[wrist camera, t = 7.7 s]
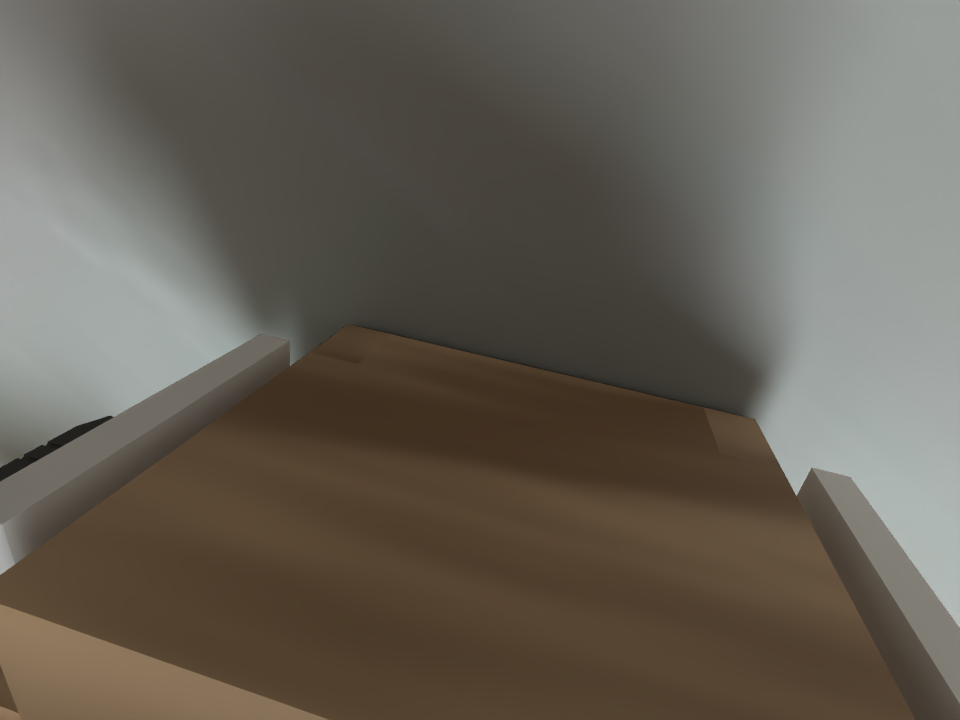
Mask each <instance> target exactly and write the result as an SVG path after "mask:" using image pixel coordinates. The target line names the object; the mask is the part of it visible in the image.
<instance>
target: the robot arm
mask: <svg viewBox="0 0 960 720" xmlns="http://www.w3.org/2000/svg"><path fill="white" fill-rule="evenodd" d="M288 367H290V341H288V340H284V339H280V338H276V337H272V336H268V335H264V334H260V335H258V336H257V337H255V338H253V339H251V340H250V341H248V342H246V343H244V344H242V345H241V346H239V347H237V348H235V349H234V350H232V351H230V352H228V353H227V354H225V355H223V356H221V357H219V358H218V359H216V360H214V361H212V362H211V363H209V364H207V365H205V366H204V367H202V368H200V369H198V370H197V371H195V372H193V373H191V374H189V375H188V376H186V377H184V378H182V379H181V380H179V381H177V382H175V383H174V384H172V385H170V386H168V387H166V388H165V389H163V390H161V391H159V392H158V393H156V394H154V395H152V396H151V397H149V398H147V399H145V400H144V401H142V402H140V403H138V404H136V405H135V406H133V407H131V408H129V409H128V410H126V411H124V412H122V413H121V414H119V415H117V416H115V417H112V416H107V417H104V418H101V419H98V420H95V421H92V422H88V423H85V424H82V425H79V426H76V427H74V428H72V429H71V430H69V431H67V432H65V433H63V434H61V435H60V436H58V437H56V438H54V439H52V440H50V441H48V444H47V445H46V446H44V445H41V446H39V447H37V448H36V449H34V450H32V451H30V452H28V453H26V454H25V455H24V457H23V458H22V459H18V458H17V459H15V460H13V461H12V462H10V463H8V464H6V465H4V466H2V467H1V468H0V575H1V574H2V573H4V572H5V571H6V570H8V569H9V568H11V567H12V566H13V565H15V564H16V563H18V562H19V561H20V560H22V559H23V558H24V557H26V556H27V555H29V554H30V553H31V552H33V551H34V550H36V549H37V548H38V547H40V546H41V545H43V544H44V543H45V542H47V541H48V540H49V539H51V538H52V537H54V536H55V535H56V534H58V533H59V532H61V531H62V530H63V529H65V528H66V527H68V526H69V525H70V524H72V523H73V522H74V521H76V520H77V519H79V518H80V517H81V516H83V515H84V514H86V513H87V512H88V511H90V510H91V509H93V508H94V507H95V506H97V505H98V504H99V503H101V502H102V501H104V500H105V499H106V498H108V497H109V496H111V495H112V494H113V493H115V492H116V491H118V490H119V489H120V488H122V487H123V486H124V485H126V484H127V483H129V482H130V481H131V480H133V479H134V478H136V477H137V476H138V475H140V474H141V473H143V472H144V471H145V470H147V469H148V468H149V467H151V466H152V465H154V464H155V463H156V462H158V461H159V460H161V459H162V458H163V457H165V456H166V455H168V454H169V453H170V452H172V451H173V450H175V449H176V448H177V447H179V446H180V445H181V444H183V443H184V442H186V441H187V440H188V439H190V438H191V437H193V436H194V435H195V434H197V433H198V432H200V431H201V430H202V429H204V428H205V427H206V426H208V425H209V424H211V423H212V422H213V421H215V420H216V419H218V418H219V417H220V416H222V415H223V414H225V413H226V412H227V411H229V410H230V409H231V408H233V407H234V406H236V405H237V404H238V403H240V402H241V401H243V400H244V399H245V398H247V397H248V396H250V395H251V394H252V393H254V392H255V391H256V390H258V389H259V388H261V387H262V386H263V385H265V384H266V383H268V382H269V381H270V380H272V379H273V378H275V377H276V376H277V375H279V374H280V373H281V372H283V371H284V370H286V369H287V368H288ZM797 498H798V500H799V502H800V504H801V506H802V508H803V510H804V512H805V513H806V515H807V517H808V519H809V521H810V523H811V525H812V527H813V528H814V530H815V532H816V534H817V536H818V538H819V540H820V542H821V543H822V545H823V547H824V549H825V551H826V553H827V555H828V557H829V558H830V560H831V562H832V564H833V566H834V568H835V570H836V571H837V573H838V575H839V577H840V579H841V581H842V583H843V585H844V586H845V588H846V590H847V592H848V594H849V596H850V598H851V600H852V601H853V603H854V605H855V607H856V609H857V611H858V613H859V615H860V616H861V618H862V620H863V622H864V624H865V626H866V628H867V630H868V631H869V633H870V635H871V637H872V639H873V641H874V643H875V645H876V646H877V648H878V650H879V652H880V654H881V656H882V658H883V660H884V661H885V663H886V665H887V667H888V669H889V671H890V673H891V674H892V676H893V678H894V680H895V682H896V684H897V686H898V688H899V689H900V691H901V693H902V695H903V697H904V699H905V701H906V703H907V704H908V706H909V708H910V710H911V712H912V714H913V716H914V718H915V719H916V720H960V628H959V626H958V625H957V624H956V622H955V621H954V620H953V618H952V617H951V615H950V614H949V613H948V611H947V610H946V608H945V607H944V606H943V604H942V603H941V602H940V600H939V599H938V597H937V596H936V595H935V593H934V592H933V591H932V589H931V588H930V586H929V585H928V584H927V582H926V581H925V579H924V578H923V577H922V575H921V574H920V573H919V571H918V570H917V568H916V567H915V566H914V564H913V563H912V561H911V560H910V559H909V557H908V556H907V555H906V553H905V552H904V550H903V549H902V548H901V546H900V545H899V544H898V542H897V541H896V539H895V538H894V537H893V535H892V534H891V532H890V531H889V530H888V528H887V527H886V526H885V524H884V523H883V521H882V520H881V519H880V517H879V516H878V515H877V513H876V512H875V510H874V509H873V508H872V506H871V505H870V503H869V502H868V501H867V499H866V498H865V497H864V495H863V494H862V492H861V491H860V490H859V488H858V487H857V485H856V484H855V483H854V481H853V480H852V479H851V477H848V476H844V475H840V474H836V473H832V472H828V471H824V470H819V469H815V468H811V470H810V472H809V474H808V476H807V478H806V480H805V481H804V483H803V485H802V487H801V489H800V491H799V493H798V495H797Z"/></svg>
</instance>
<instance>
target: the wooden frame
mask: <svg viewBox="0 0 960 720" xmlns="http://www.w3.org/2000/svg"><path fill="white" fill-rule="evenodd" d="M0 666H1V668H2V671H3V674H4V676H5V679H6V681H7V684H8V687H9V689H10V692H11V694H12V697H13V700H14V702H15V705H16V707H17V710H18V713H19V715H20V718H21V720H916V719H915V718H914V716H913V714H912V712H911V710H910V708H909V706H908V704H907V703H906V701H905V699H904V697H903V695H902V693H901V691H900V689H899V688H898V686H897V684H896V682H895V680H894V678H893V676H892V674H891V673H890V671H889V669H888V667H887V665H886V663H885V661H884V660H883V658H882V656H881V654H880V652H879V650H878V648H877V646H876V645H875V643H874V641H873V639H872V637H871V635H870V633H869V631H868V630H867V628H866V626H865V624H864V622H863V620H862V618H861V616H860V615H859V613H858V611H857V609H856V607H855V605H854V603H853V601H852V600H851V598H850V596H849V594H848V592H847V590H846V588H845V586H844V585H843V583H842V581H841V579H840V577H839V575H838V573H837V571H836V570H835V568H834V566H833V564H832V562H831V560H830V558H829V557H828V555H827V553H826V551H825V549H824V547H823V545H822V543H821V542H820V540H819V538H818V536H817V534H816V532H815V530H814V528H813V527H812V525H811V523H810V521H809V519H808V517H807V515H806V513H805V512H804V510H803V508H802V506H801V504H800V502H799V500H798V498H797V497H796V495H795V493H794V491H793V489H792V487H791V485H790V483H789V482H788V480H787V478H786V476H785V474H784V472H783V470H782V468H781V467H780V465H779V463H778V461H777V459H776V457H775V455H774V454H773V452H772V450H771V448H770V446H769V444H768V442H767V440H766V439H765V437H764V435H763V433H762V431H761V429H760V427H759V425H758V424H757V422H756V420H755V419H752V418H747V417H743V416H739V415H734V414H730V413H726V412H722V411H717V410H713V409H709V408H704V407H700V406H696V405H692V404H687V403H683V402H679V401H675V400H670V399H666V398H662V397H657V396H653V395H649V394H645V393H640V392H636V391H632V390H627V389H623V388H619V387H615V386H610V385H606V384H602V383H598V382H593V381H589V380H585V379H580V378H576V377H572V376H568V375H563V374H559V373H555V372H550V371H546V370H542V369H538V368H533V367H529V366H525V365H521V364H516V363H512V362H508V361H503V360H499V359H495V358H491V357H486V356H482V355H478V354H473V353H469V352H465V351H461V350H456V349H452V348H448V347H444V346H439V345H435V344H431V343H426V342H422V341H418V340H414V339H409V338H405V337H401V336H396V335H392V334H388V333H384V332H379V331H375V330H371V329H367V328H362V327H358V326H354V325H349V324H348V325H347V326H345V327H344V328H343V329H341V330H340V331H338V332H337V333H336V334H334V335H333V336H332V337H330V338H329V339H327V340H326V341H325V342H323V343H322V344H320V345H319V346H318V347H316V348H315V349H313V350H312V351H311V352H309V353H308V354H306V355H305V356H304V357H302V358H301V359H300V360H298V361H297V362H295V363H294V364H293V365H291V366H290V367H288V368H287V369H286V370H284V371H283V372H281V373H280V374H279V375H277V376H276V377H275V378H273V379H272V380H270V381H269V382H268V383H266V384H265V385H263V386H262V387H261V388H259V389H258V390H256V391H255V392H254V393H252V394H251V395H250V396H248V397H247V398H245V399H244V400H243V401H241V402H240V403H238V404H237V405H236V406H234V407H233V408H231V409H230V410H229V411H227V412H226V413H225V414H223V415H222V416H220V417H219V418H218V419H216V420H215V421H213V422H212V423H211V424H209V425H208V426H206V427H205V428H204V429H202V430H201V431H200V432H198V433H197V434H195V435H194V436H193V437H191V438H190V439H188V440H187V441H186V442H184V443H183V444H181V445H180V446H179V447H177V448H176V449H175V450H173V451H172V452H170V453H169V454H168V455H166V456H165V457H163V458H162V459H161V460H159V461H158V462H156V463H155V464H154V465H152V466H151V467H149V468H148V469H147V470H145V471H144V472H143V473H141V474H140V475H138V476H137V477H136V478H134V479H133V480H131V481H130V482H129V483H127V484H126V485H124V486H123V487H122V488H120V489H119V490H118V491H116V492H115V493H113V494H112V495H111V496H109V497H108V498H106V499H105V500H104V501H102V502H101V503H99V504H98V505H97V506H95V507H94V508H93V509H91V510H90V511H88V512H87V513H86V514H84V515H83V516H81V517H80V518H79V519H77V520H76V521H74V522H73V523H72V524H70V525H69V526H68V527H66V528H65V529H63V530H62V531H61V532H59V533H58V534H56V535H55V536H54V537H52V538H51V539H49V540H48V541H47V542H45V543H44V544H43V545H41V546H40V547H38V548H37V549H36V550H34V551H33V552H31V553H30V554H29V555H27V556H26V557H24V558H23V559H22V560H20V561H19V562H18V563H16V564H15V565H13V566H12V567H11V568H9V569H8V570H6V571H5V572H4V573H2V574H1V575H0Z"/></svg>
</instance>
